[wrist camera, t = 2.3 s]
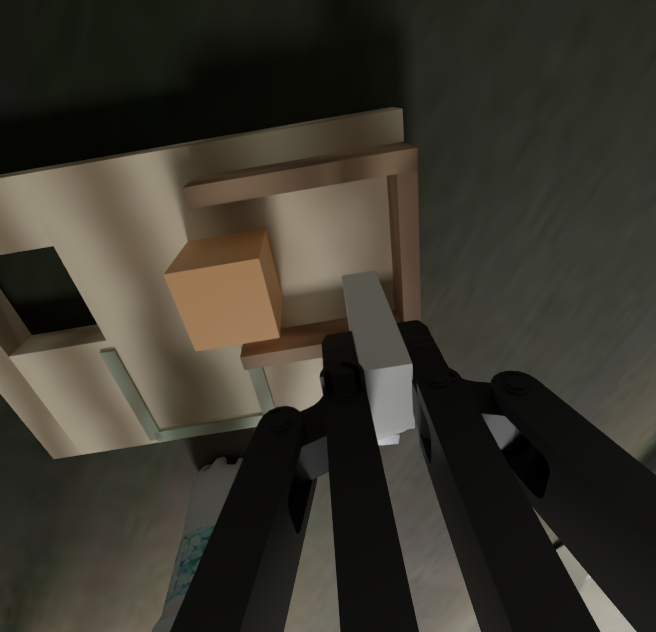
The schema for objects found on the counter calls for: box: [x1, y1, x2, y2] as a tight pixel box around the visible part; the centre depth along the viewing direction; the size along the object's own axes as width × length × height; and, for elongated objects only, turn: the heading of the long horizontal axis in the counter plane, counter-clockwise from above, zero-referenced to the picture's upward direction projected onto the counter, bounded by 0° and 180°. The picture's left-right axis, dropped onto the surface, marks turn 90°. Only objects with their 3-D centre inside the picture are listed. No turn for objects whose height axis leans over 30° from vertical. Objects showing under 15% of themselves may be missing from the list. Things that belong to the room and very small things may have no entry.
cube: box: [163, 228, 283, 352], centre depth 20 cm, size 4×4×4 cm
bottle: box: [152, 457, 243, 632], centre depth 27 cm, size 7×7×20 cm
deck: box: [0, 107, 404, 459], centre depth 25 cm, size 28×20×3 cm
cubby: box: [182, 142, 421, 370], centre depth 21 cm, size 11×11×2 cm
